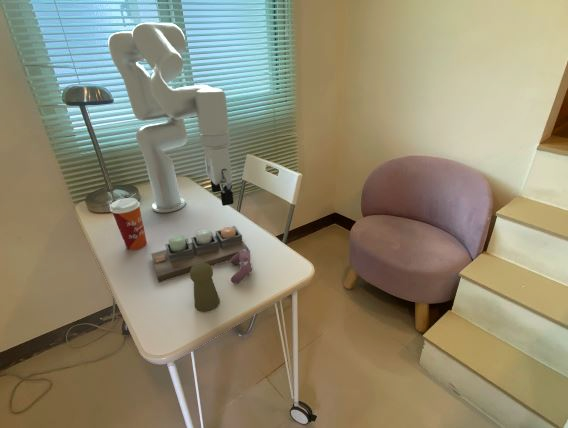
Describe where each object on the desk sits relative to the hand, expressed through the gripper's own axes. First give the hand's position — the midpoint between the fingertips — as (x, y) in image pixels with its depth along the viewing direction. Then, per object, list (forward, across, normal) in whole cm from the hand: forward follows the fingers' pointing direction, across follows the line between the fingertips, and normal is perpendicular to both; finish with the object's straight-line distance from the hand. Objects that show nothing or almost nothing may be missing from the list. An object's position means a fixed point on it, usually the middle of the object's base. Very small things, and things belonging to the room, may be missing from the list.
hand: (222, 197), depth 91 cm
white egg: (+12, +1, -7) cm, 14 cm away
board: (+16, +2, -9) cm, 19 cm away
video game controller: (+16, +15, -1) cm, 22 cm away
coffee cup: (+17, -15, -26) cm, 34 cm away
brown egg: (+14, +1, 0) cm, 14 cm away
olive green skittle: (+16, +22, -13) cm, 30 cm away
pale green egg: (+12, +1, -15) cm, 19 cm away
